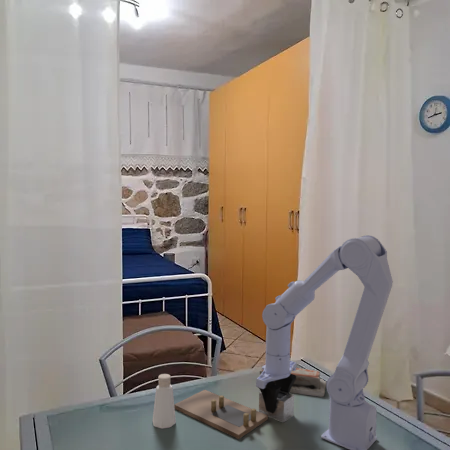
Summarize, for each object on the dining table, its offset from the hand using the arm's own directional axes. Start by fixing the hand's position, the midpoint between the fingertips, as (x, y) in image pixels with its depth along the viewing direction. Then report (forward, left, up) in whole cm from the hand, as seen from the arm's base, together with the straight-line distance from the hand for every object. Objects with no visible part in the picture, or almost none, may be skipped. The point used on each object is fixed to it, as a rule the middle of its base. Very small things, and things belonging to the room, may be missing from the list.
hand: (276, 407), depth 105 cm
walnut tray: (+10, +9, -2) cm, 14 cm away
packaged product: (+6, -17, -2) cm, 18 cm away
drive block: (0, 0, -2) cm, 2 cm away
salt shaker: (+17, +20, -2) cm, 27 cm away
